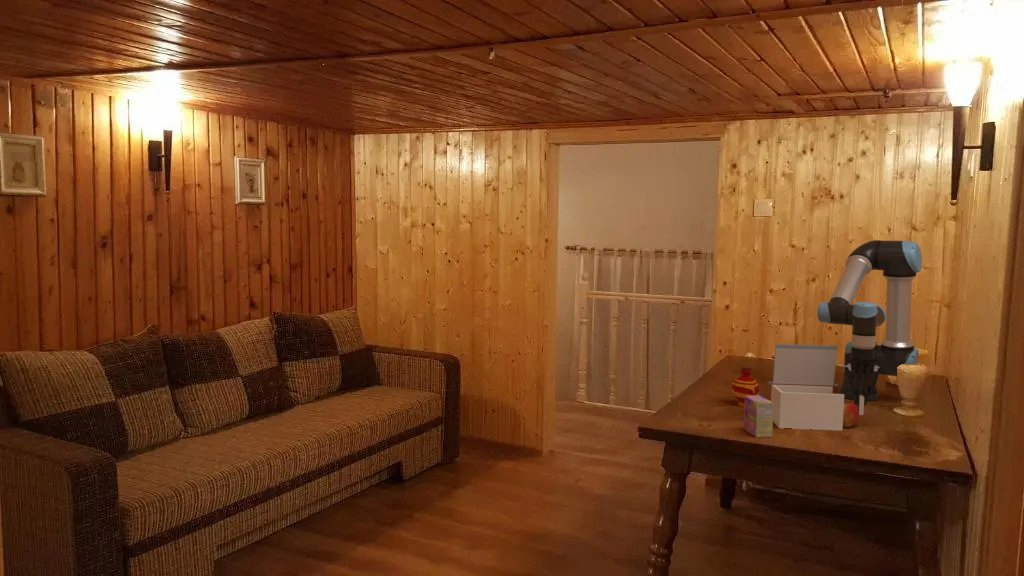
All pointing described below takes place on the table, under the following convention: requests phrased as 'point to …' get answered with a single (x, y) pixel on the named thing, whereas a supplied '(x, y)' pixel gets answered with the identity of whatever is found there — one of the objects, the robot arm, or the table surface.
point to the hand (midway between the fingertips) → (859, 413)
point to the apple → (849, 414)
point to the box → (758, 416)
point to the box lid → (804, 364)
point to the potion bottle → (745, 385)
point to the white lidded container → (807, 407)
